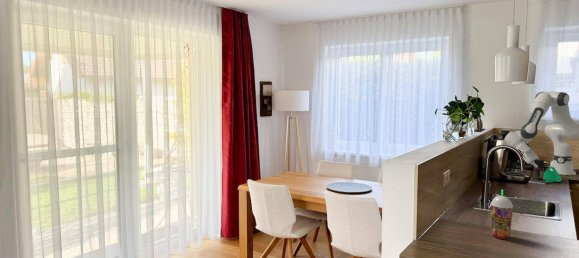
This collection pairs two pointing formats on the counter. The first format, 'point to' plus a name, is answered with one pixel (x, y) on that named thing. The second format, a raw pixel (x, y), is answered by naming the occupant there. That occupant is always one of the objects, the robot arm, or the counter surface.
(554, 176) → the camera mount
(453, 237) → the counter surface
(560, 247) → the counter surface
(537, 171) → the deodorant
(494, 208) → the smoothie
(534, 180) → the mount plate
